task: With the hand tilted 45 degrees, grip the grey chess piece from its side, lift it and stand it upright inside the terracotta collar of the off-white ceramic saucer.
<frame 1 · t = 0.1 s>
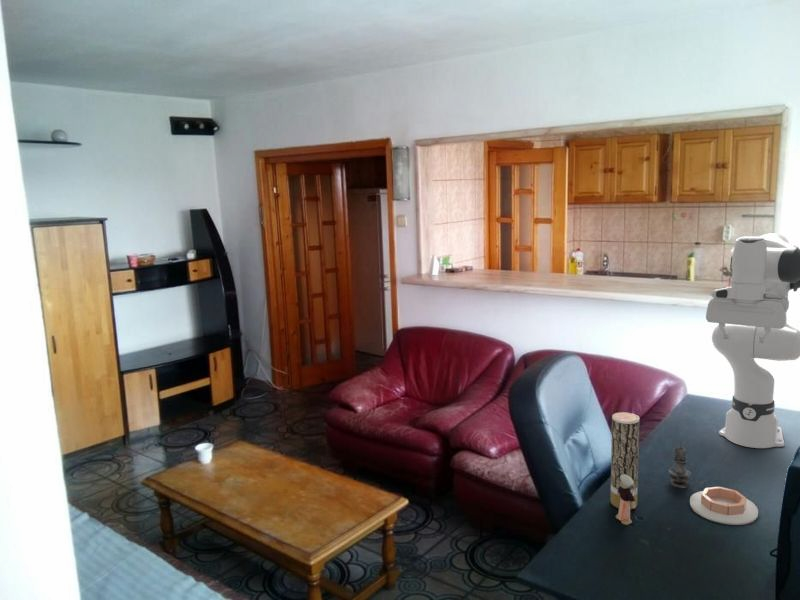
hand: (743, 340, 181), 39 cm above the table, tool pointing down, fingers open, 8 cm apart
saucer: (723, 508, 165), on the table
grandmother figurine: (624, 521, 162), on the table
grey chess piece: (679, 484, 180), on the table
wooden cylinder: (623, 505, 170), on the table
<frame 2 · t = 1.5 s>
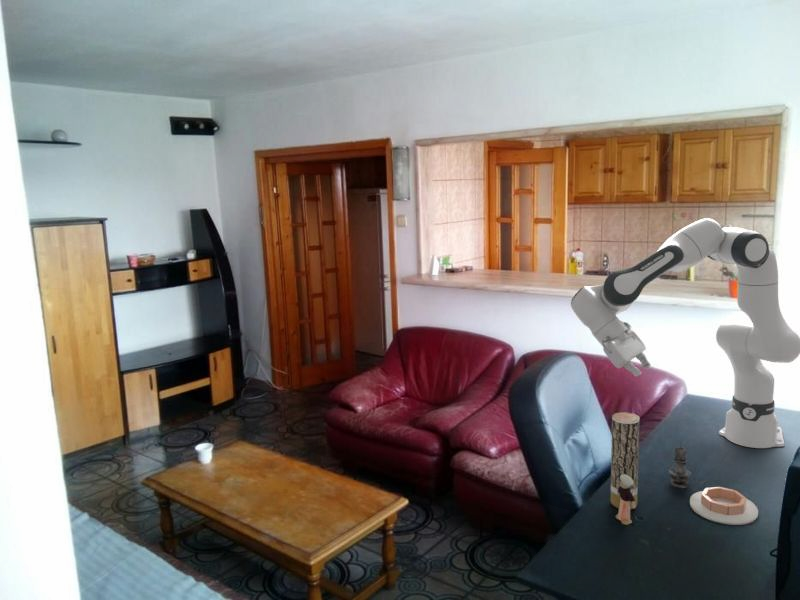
hand: (643, 371, 183), 31 cm above the table, tool tilted 45°, fingers open, 8 cm apart
nothing on the table moved.
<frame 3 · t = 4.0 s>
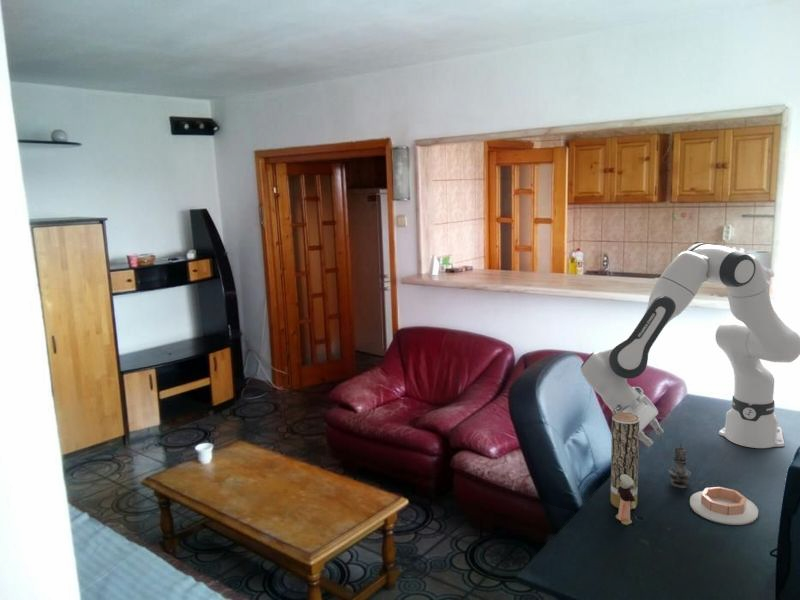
hand: (656, 439, 181), 12 cm above the table, tool tilted 45°, fingers open, 8 cm apart
nothing on the table moved.
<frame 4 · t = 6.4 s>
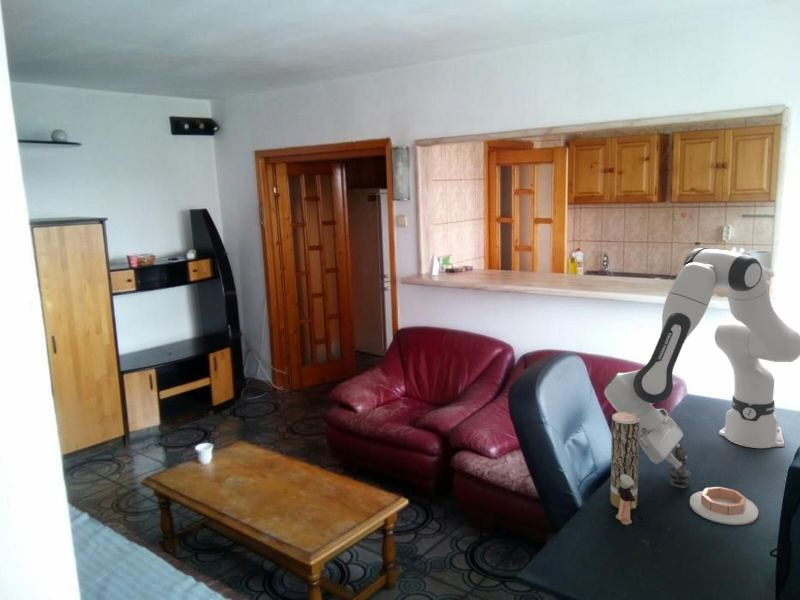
hand: (682, 463, 178), 6 cm above the table, tool tilted 45°, fingers closed on grey chess piece, 4 cm apart
grey chess piece: (679, 484, 180), on the table, touching gripper
everything else where it was.
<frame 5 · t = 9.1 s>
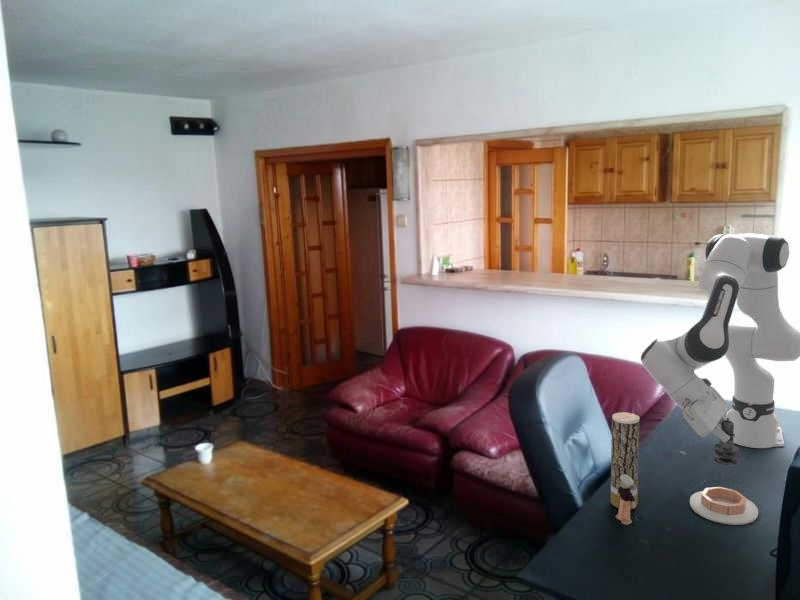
hand: (729, 436, 161), 20 cm above the table, tool tilted 45°, fingers closed on grey chess piece, 4 cm apart
grey chess piece: (725, 461, 163), point 13 cm above the table, touching gripper
everything else where it was.
when the fingers open (9 cm above the table, at t = 12.0 s): grey chess piece stays where it is, resting on saucer.
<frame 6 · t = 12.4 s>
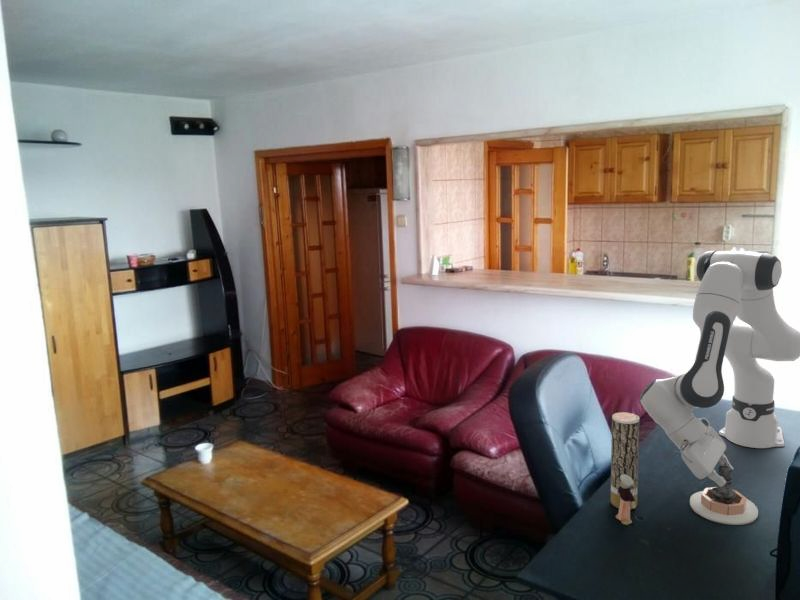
hand: (727, 477, 163), 9 cm above the table, tool tilted 45°, fingers open, 7 cm apart
grey chess piece: (723, 505, 165), point 1 cm above the table, touching saucer
everything else where it was.
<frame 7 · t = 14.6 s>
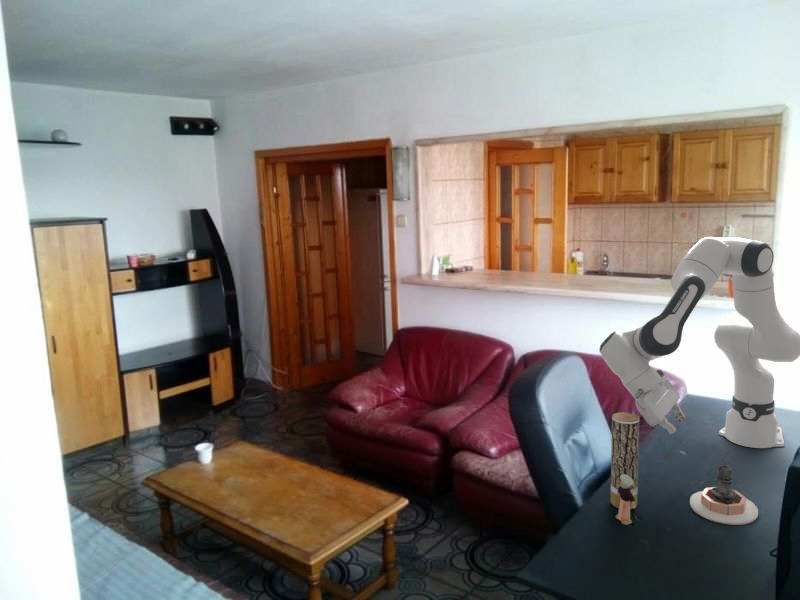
hand: (678, 425, 170), 20 cm above the table, tool tilted 40°, fingers open, 8 cm apart
nothing on the table moved.
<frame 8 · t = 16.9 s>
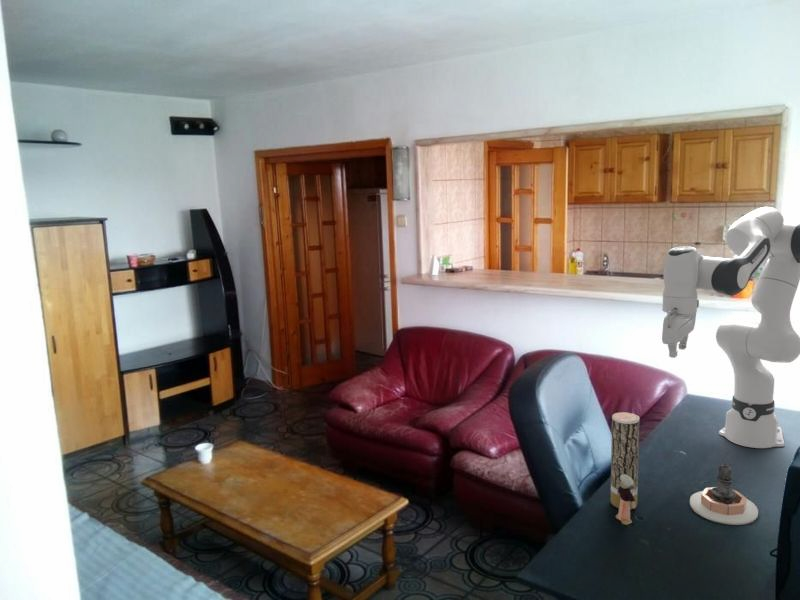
hand: (677, 352, 178), 37 cm above the table, tool pointing down, fingers open, 8 cm apart
nothing on the table moved.
at the end: grey chess piece 0.1 cm from the saucer (horizontally); grey chess piece point 0.8 cm above the table; grey chess piece tilted 0° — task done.
